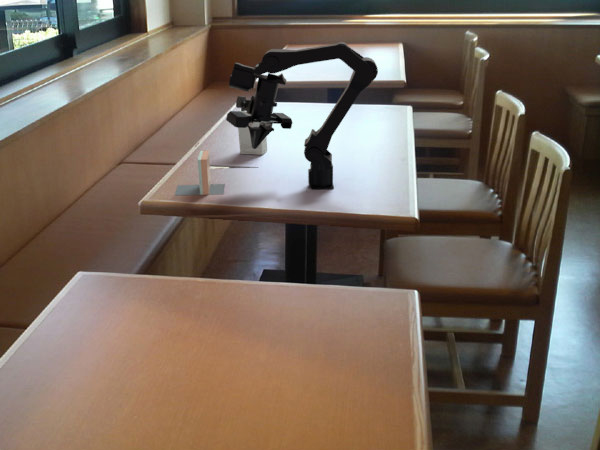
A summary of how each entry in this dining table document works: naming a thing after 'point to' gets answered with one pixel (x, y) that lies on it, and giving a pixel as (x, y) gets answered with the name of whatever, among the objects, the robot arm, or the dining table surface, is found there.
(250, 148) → the skincare box
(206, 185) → the tile
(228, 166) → the chocolate bar
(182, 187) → the mat
